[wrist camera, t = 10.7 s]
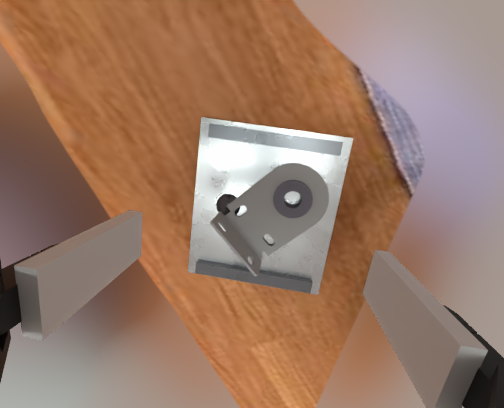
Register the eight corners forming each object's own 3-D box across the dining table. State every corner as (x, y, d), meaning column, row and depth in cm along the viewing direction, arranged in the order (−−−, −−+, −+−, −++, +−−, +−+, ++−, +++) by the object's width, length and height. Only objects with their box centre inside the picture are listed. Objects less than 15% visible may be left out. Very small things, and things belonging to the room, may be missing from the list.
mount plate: (204, 118, 25) (198, 116, 23) (350, 138, 24) (356, 137, 22) (190, 267, 28) (185, 275, 27) (316, 289, 28) (319, 299, 26)
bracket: (341, 203, 24) (351, 212, 21) (258, 261, 26) (255, 278, 23) (299, 148, 23) (302, 148, 20) (218, 212, 26) (209, 222, 22)
